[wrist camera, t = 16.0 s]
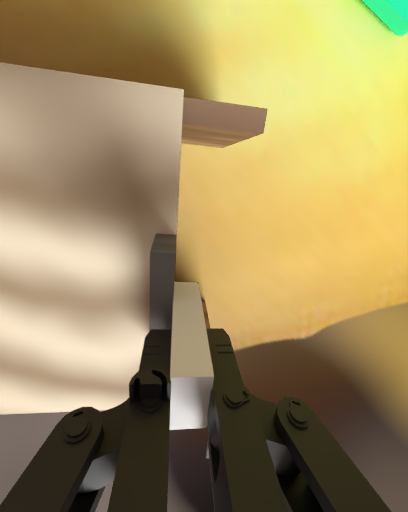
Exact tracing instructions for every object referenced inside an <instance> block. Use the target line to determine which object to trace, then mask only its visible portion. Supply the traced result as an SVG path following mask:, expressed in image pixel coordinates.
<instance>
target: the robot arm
mask: <svg viewBox="0 0 408 512" xmlns="http://www.w3.org/2000/svg"><path fill="white" fill-rule="evenodd" d="M207 422H208V428H209V439H208V446H207V454H206V458H209V460H210V469H211V479H212V489H213V499H214V509H215V512H391V511H390V509H389V508H388V507H387V506H386V504H385V503H384V502H383V500H382V499H381V498H380V496H379V495H378V494H377V493H376V491H375V490H374V489H373V488H372V486H371V485H370V484H369V482H368V481H367V480H366V478H365V477H364V476H363V474H362V473H361V472H360V471H359V469H358V468H357V467H356V465H355V464H354V463H353V462H352V460H351V459H350V458H349V456H348V455H347V454H346V453H345V451H344V450H343V449H342V447H341V446H340V445H339V443H338V442H337V441H336V440H335V438H334V437H333V436H332V434H331V433H330V432H329V431H328V429H327V428H326V427H325V425H324V424H323V423H322V421H321V420H320V419H319V418H318V416H317V415H316V414H315V412H314V411H313V410H312V409H311V408H310V407H309V406H308V405H307V404H306V403H304V402H302V401H301V400H299V399H296V398H292V397H288V398H284V399H282V400H281V401H279V403H278V404H275V403H271V402H268V401H264V400H261V399H259V398H257V397H255V396H254V395H252V394H251V393H250V392H249V390H248V389H247V388H246V387H245V386H244V384H243V382H242V379H241V375H240V372H239V369H238V365H237V361H236V358H235V355H234V351H233V348H232V344H231V341H230V337H229V335H228V334H227V333H226V332H225V331H224V329H206V325H205V319H204V313H203V307H202V301H201V295H200V289H199V283H198V282H174V299H173V315H172V329H151V330H150V331H149V333H148V334H147V335H146V337H145V340H144V345H143V351H142V356H141V361H140V366H139V371H138V372H137V373H136V374H135V375H134V376H133V377H132V378H131V381H130V383H129V398H128V399H127V400H126V401H125V402H123V403H122V404H120V405H118V406H116V407H114V408H111V409H108V410H105V411H103V412H99V410H97V409H95V408H93V407H81V408H78V409H75V410H73V411H71V412H70V413H69V414H67V415H65V416H64V417H63V418H62V420H61V421H60V422H59V423H58V424H57V425H56V426H55V428H54V429H53V431H52V432H51V434H50V435H49V436H48V438H47V439H46V441H45V442H44V444H43V445H42V447H41V448H40V449H39V451H38V452H37V454H36V455H35V456H34V458H33V459H32V461H31V462H30V464H29V465H28V467H27V468H26V469H25V471H24V472H23V474H22V475H21V477H20V478H19V479H18V481H17V482H16V484H15V485H14V486H13V488H12V489H11V491H10V492H9V493H8V495H7V497H6V498H5V499H4V501H3V502H2V504H1V505H0V512H95V510H96V508H97V505H98V503H99V500H100V498H101V495H102V493H103V491H104V488H105V486H106V485H108V484H110V483H112V482H113V487H112V492H111V497H110V502H109V507H108V512H167V493H168V461H169V431H170V430H176V429H191V428H192V429H193V428H207Z"/></svg>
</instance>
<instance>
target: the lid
mask: <svg viewBox="0 0 408 512" xmlns="http://www.w3.org/2000/svg"><path fill="white" fill-rule="evenodd" d="M183 98H184V89H178V88H172V87H165V86H158V85H151V84H144V83H138V82H131V81H124V80H117V79H111V78H104V77H97V76H90V75H83V74H77V73H70V72H63V71H56V70H50V69H43V68H36V67H29V66H22V65H16V64H9V63H2V62H0V414H21V413H46V412H70V411H73V410H75V409H78V408H81V407H93V408H95V409H97V410H108V409H111V408H114V407H116V406H118V405H120V404H122V403H123V402H125V401H126V400H127V399H128V398H129V383H130V381H131V378H132V377H133V376H134V375H135V374H136V373H137V372H138V371H139V366H140V361H141V356H142V351H143V345H144V340H145V337H146V335H147V334H148V333H149V331H150V330H151V329H172V315H173V299H174V280H175V261H176V233H177V214H178V195H179V175H180V156H181V137H182V118H183Z"/></svg>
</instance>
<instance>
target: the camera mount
mask: <svg viewBox="0 0 408 512" xmlns="http://www.w3.org/2000/svg"><path fill="white" fill-rule="evenodd" d="M362 1H363V2H364V3H365V4H366V5H367V6H368V7H369V8H370V9H371V10H372V11H373V12H374V13H375V14H376V15H377V16H378V17H379V18H380V19H381V20H382V21H383V22H384V23H385V24H386V25H387V26H388V27H389V28H390V29H391V30H392V31H393V32H394V33H395V34H396V35H398V36H402V35H404V34H406V33H408V0H362Z"/></svg>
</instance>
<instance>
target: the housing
mask: <svg viewBox="0 0 408 512" xmlns="http://www.w3.org/2000/svg"><path fill="white" fill-rule="evenodd" d="M266 115H267V109H265V108H258V107H251V106H244V105H237V104H230V103H223V102H216V101H209V100H202V99H195V98H188V97H184V98H183V118H182V137H181V143H185V144H194V145H202V146H211V147H220V148H223V147H226V146H229V145H232V144H235V143H237V142H240V141H243V140H246V139H249V138H251V137H254V136H257V135H260V134H262V133H263V132H264V127H265V121H266ZM202 307H203V313H204V319H205V325H206V329H210V324H209V319H208V314H207V309H206V304H205V301H202Z"/></svg>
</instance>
